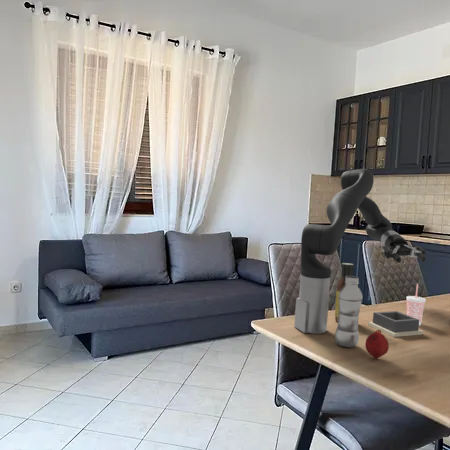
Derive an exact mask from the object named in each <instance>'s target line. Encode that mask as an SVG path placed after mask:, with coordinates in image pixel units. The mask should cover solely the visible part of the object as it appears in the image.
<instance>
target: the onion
mask: <svg viewBox="0 0 450 450" xmlns="http://www.w3.org/2000/svg"><path fill="white" fill-rule="evenodd" d="M364 345H365V350H366V352H367V353H368V354H369V355H370V356H371V357H372V358H373V359H376V360H377V359H379V358H382V357H383V356H384V355H386V354H387V353H388V351H389V347H390V346H389V341H388V339H387V337H385V335H384V334H383V333H382V331H381V330H380V329H378V330H377V329H376V330H375V331H374V332H372V333H371V334H369V335H368V336H367V337H366V340H365V344H364Z"/></svg>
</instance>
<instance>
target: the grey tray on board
mask: <svg viewBox="0 0 450 450" xmlns="http://www.w3.org/2000/svg"><path fill="white" fill-rule="evenodd" d="M372 314H373V315H372V321H368V322H367V325H368V326H370V327H372V328H374V329H376V330H378V329H380V330H381V333H384V334H386V335H388V336H390V337H392V338H398V337H399V338H400V337H408V336H410V337H411V336H419V335H424V330H421V329H419V326H420V325H419V319H416V318H413V317H411V316H408V315H407V313H406V314H405V313H403V312H400V311H399V310H392V311H389V310H388V311H376V312H375V311H374V312H373V313H372Z"/></svg>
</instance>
